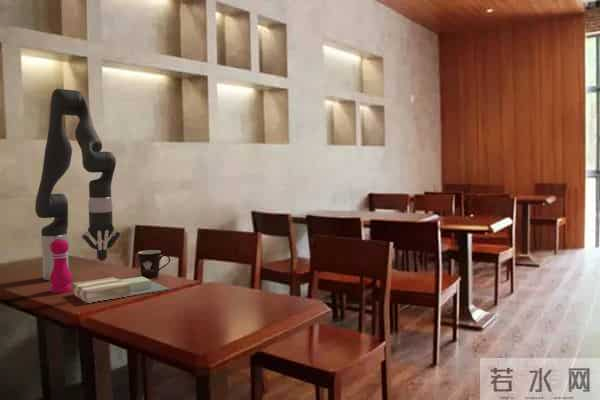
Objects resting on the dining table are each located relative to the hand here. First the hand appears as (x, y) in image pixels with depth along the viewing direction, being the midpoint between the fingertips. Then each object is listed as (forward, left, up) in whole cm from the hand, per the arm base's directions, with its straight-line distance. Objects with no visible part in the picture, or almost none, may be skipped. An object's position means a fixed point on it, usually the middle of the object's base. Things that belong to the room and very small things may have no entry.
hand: (101, 260), depth 186 cm
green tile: (+2, +11, -11) cm, 15 cm away
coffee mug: (-14, +24, -12) cm, 30 cm away
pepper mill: (-14, -10, -12) cm, 21 cm away
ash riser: (+2, -1, -12) cm, 12 cm away
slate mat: (+2, +13, -12) cm, 18 cm away
